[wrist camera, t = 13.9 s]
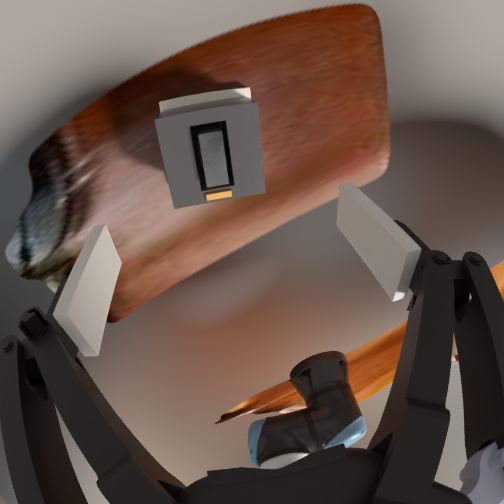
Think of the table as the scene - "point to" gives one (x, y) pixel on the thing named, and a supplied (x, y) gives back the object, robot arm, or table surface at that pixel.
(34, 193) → the table surface
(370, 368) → the table surface
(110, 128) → the table surface
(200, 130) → the shaft stand
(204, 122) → the gray slotted block
